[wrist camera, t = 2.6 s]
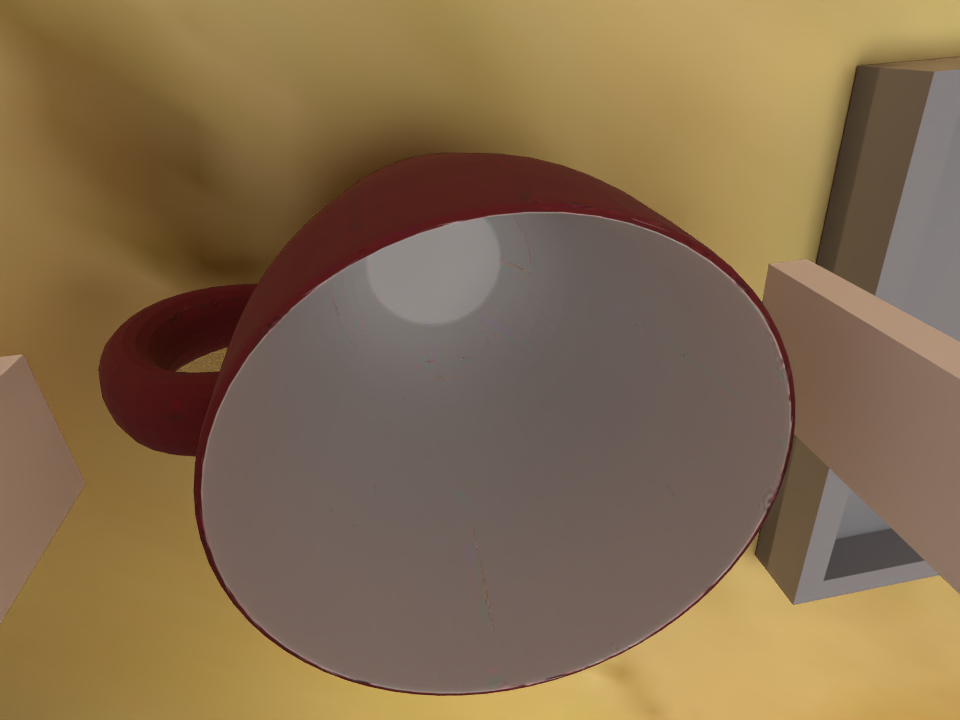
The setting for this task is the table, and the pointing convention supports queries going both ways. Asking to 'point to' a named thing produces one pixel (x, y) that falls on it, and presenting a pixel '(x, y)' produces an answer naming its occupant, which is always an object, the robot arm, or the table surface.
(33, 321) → the table surface
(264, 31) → the table surface
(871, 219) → the tray
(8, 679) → the table surface
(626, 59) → the table surface
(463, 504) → the mug
